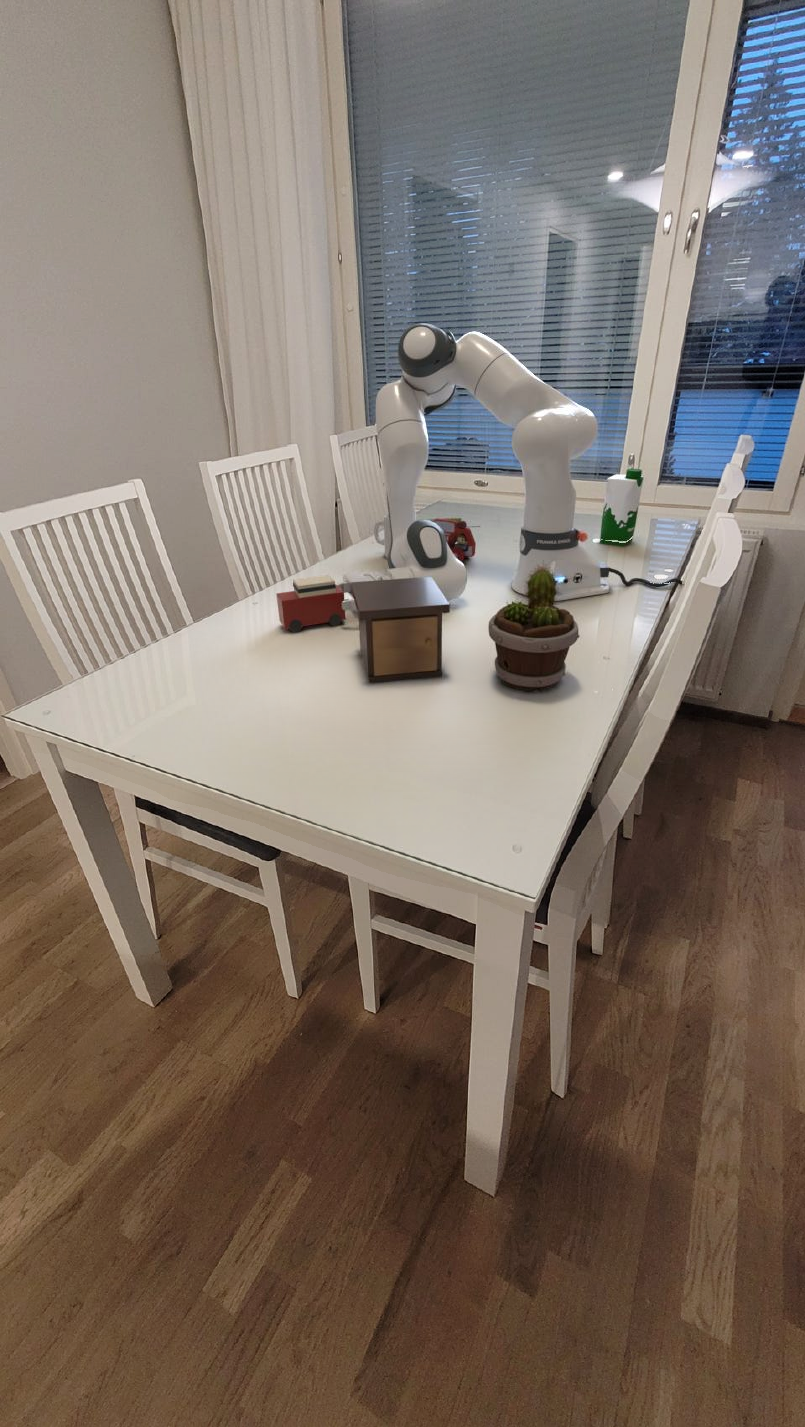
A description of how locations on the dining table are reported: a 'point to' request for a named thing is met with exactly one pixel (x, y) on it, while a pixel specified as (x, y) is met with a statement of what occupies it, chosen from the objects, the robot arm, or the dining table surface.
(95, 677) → the dining table surface
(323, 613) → the car
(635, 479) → the milk carton
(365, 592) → the cabinet
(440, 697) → the dining table surface
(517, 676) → the flowerpot
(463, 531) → the toy fire truck
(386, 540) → the mug
